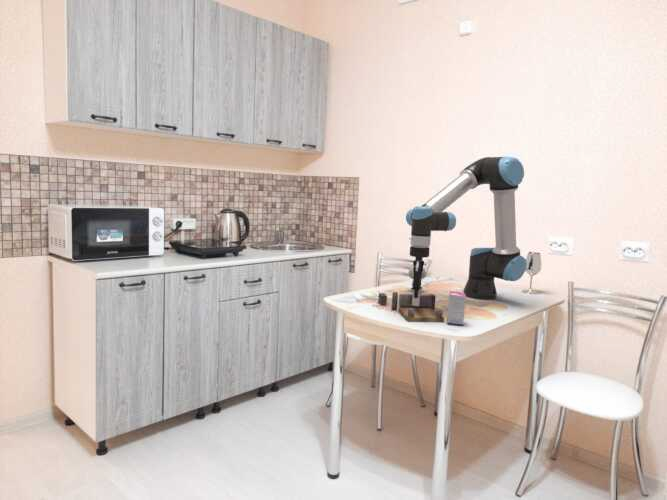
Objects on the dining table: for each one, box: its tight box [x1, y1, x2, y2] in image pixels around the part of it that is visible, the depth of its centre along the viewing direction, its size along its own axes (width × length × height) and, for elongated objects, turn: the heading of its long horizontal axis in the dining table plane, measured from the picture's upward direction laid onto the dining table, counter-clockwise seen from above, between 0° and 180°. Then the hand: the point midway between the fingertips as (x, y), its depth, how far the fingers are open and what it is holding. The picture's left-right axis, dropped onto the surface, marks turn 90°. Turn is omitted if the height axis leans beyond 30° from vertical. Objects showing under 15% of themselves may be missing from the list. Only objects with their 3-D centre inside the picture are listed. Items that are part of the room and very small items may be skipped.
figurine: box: [408, 265, 426, 288], centre depth 240 cm, size 8×8×12 cm
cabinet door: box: [390, 291, 445, 323], centre depth 197 cm, size 16×18×7 cm
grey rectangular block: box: [397, 293, 437, 311], centre depth 205 cm, size 14×3×6 cm, turn 97°
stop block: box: [377, 292, 388, 306], centre depth 212 cm, size 2×5×4 cm, turn 7°
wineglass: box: [521, 251, 542, 295], centre depth 251 cm, size 8×8×20 cm
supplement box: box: [446, 291, 467, 327], centre depth 188 cm, size 6×6×12 cm
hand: (415, 305), depth 199 cm, fingers closed
